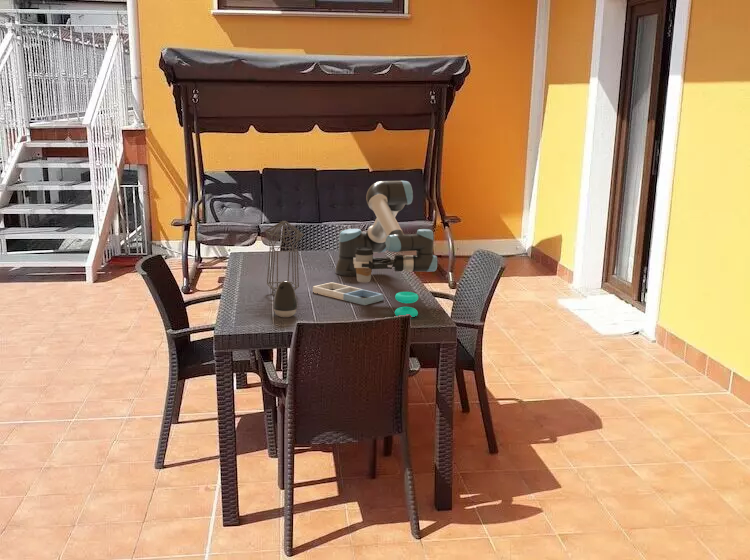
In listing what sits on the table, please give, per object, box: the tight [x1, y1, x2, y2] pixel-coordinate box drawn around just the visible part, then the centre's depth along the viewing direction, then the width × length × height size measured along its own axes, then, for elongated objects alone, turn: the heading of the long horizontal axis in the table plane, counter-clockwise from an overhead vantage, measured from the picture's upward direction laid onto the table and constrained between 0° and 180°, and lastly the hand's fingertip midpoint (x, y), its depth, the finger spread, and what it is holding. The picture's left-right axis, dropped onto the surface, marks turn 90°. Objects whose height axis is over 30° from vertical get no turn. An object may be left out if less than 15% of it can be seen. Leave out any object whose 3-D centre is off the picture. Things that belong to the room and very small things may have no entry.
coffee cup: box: [355, 247, 374, 283], centre depth 351 cm, size 8×8×15 cm
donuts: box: [394, 291, 420, 318], centre depth 329 cm, size 10×10×10 cm
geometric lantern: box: [263, 220, 305, 297], centre depth 358 cm, size 16×16×35 cm
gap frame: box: [312, 281, 384, 306], centre depth 361 cm, size 13×33×3 cm, turn 49°
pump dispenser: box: [272, 280, 298, 318], centre depth 324 cm, size 10×10×15 cm
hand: (353, 262), depth 351 cm, fingers closed on coffee cup, 8 cm apart
